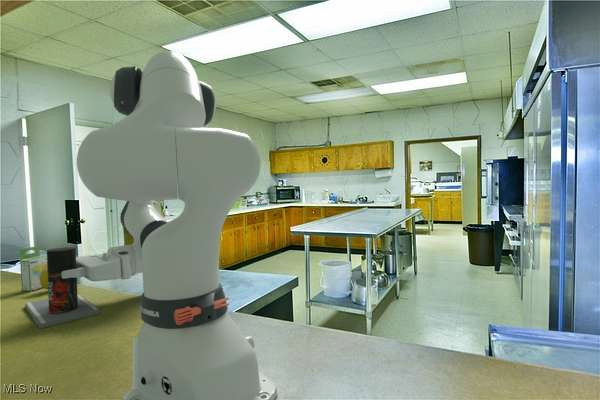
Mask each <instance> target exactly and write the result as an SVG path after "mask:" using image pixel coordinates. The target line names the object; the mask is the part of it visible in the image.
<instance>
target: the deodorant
mask: <svg viewBox="0 0 600 400" xmlns="http://www.w3.org/2000/svg"><path fill="white" fill-rule="evenodd" d="M46 256H47V270H48V289H47V290H48V291H47V292H48V296H47V297H48V299H49V312H50V313H62V312H68V311H71V310H74V309H76V308H77V307H78V296H77V293H78V279H77V278H78V277H74V278H66V279H63V278H62V277H61V271H63V270H72V269H77V268H76V257H77V249H76V247H75V246H74V247H73V246H72V247H70V246H69V247H56V248H51V249H47V250H46Z"/></svg>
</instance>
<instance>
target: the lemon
mask: <svg viewBox="0 0 600 400" xmlns="http://www.w3.org/2000/svg"><path fill="white" fill-rule="evenodd" d="M40 284H41V286H42V287H43V288H42V289H45V290H48V270H47V268H45V269H44V270H43V271H42V272H41V274H40Z"/></svg>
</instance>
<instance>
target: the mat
mask: <svg viewBox="0 0 600 400" xmlns="http://www.w3.org/2000/svg"><path fill="white" fill-rule="evenodd" d="M77 296H78V307H77V308H76V309H74V310H71V311H68V312H62V313H50V312H49V298H44V299H39V300H37V301H32V302H30V301H28V302H26V303H24V307H25V309H26V310H27V313H28V314H29V315H30V316H31V317H33V318H32V319H33V320H34V322H35V324H36V325H37V326H38V328H39V329H44V328H47V327H52V326H55V325H58V324H63V323H68V322H70V321H75V320H79V319H83V318H87V317H90V316H94V315H98V314H100V313H101V309H100V308H99V307H98V306H96V305H95V304H93V303H92V302H91V301H89V300H88V299H87V298H86V297H84V296H82V295H81V294H80V293H79V292H77Z"/></svg>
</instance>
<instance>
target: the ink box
mask: <svg viewBox="0 0 600 400" xmlns="http://www.w3.org/2000/svg"><path fill="white" fill-rule="evenodd" d="M29 251H34V252H30V253H27V252H29ZM40 252H41V251H40V245H35V246H30V247H25V248H24V247H23V248H20V249H19V264H20V277H21V279H20V280H21V282H20V283H21V291H22V292H28V291H31V292H33V291H32V290H35V289H38V288H41V289H43V288H42V286H41V284H40V274H41V272H42V271H43V270H44V269H45V268H47V255H41V253H40ZM25 253H26V254H25ZM38 290H39V289H38ZM35 291H36V290H35Z"/></svg>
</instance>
